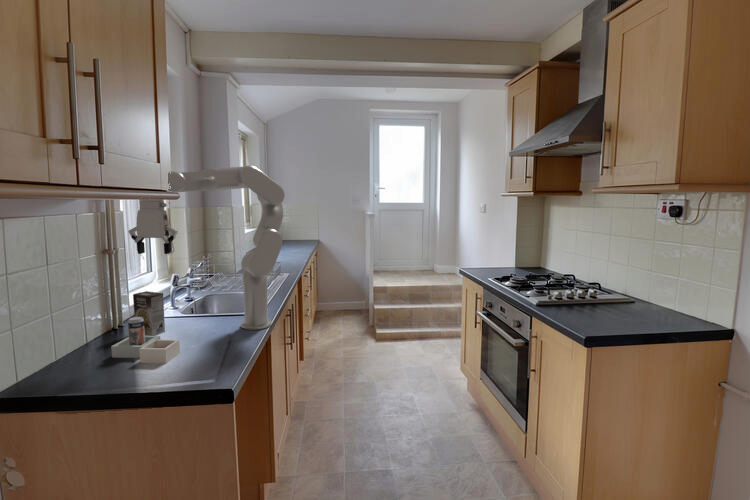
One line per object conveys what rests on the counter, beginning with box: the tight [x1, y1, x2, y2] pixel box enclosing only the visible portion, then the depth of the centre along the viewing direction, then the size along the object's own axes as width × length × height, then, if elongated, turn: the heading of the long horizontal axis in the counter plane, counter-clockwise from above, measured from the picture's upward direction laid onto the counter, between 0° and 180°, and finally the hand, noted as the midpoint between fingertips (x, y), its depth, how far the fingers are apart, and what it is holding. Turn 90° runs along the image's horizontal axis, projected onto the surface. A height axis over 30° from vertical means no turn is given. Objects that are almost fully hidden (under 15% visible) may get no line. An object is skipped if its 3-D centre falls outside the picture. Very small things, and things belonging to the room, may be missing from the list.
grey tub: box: [110, 335, 161, 359], centre depth 134 cm, size 10×10×5 cm
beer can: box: [127, 316, 146, 345], centre depth 133 cm, size 5×5×12 cm
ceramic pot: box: [139, 339, 181, 364], centre depth 129 cm, size 8×8×6 cm
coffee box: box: [132, 290, 166, 336], centre depth 154 cm, size 9×6×16 cm
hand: (154, 253), depth 142 cm, fingers open, 9 cm apart
